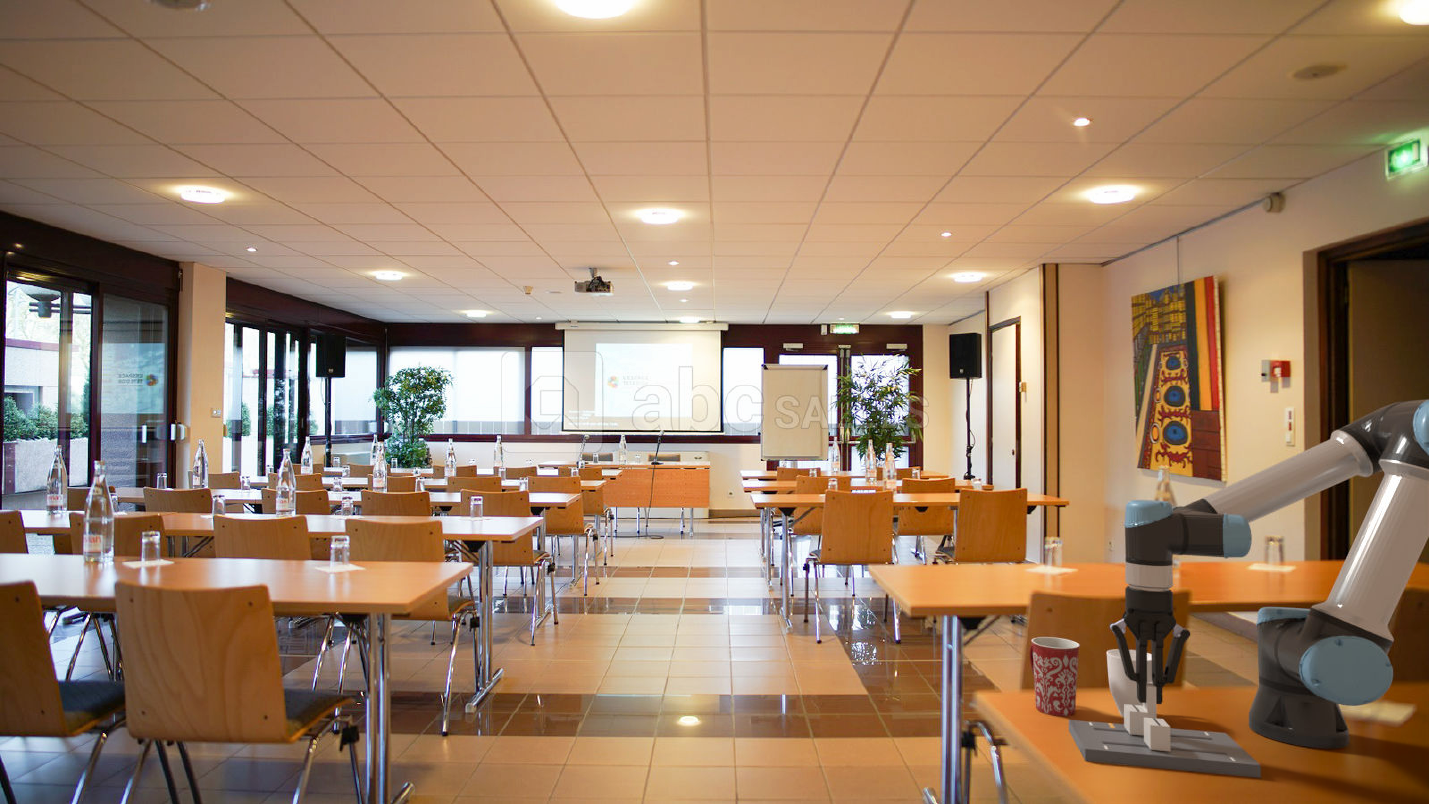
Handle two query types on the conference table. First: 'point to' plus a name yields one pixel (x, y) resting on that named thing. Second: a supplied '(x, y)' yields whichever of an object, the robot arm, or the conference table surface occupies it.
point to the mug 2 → (1124, 679)
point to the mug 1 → (1055, 674)
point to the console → (1185, 751)
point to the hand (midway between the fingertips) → (1149, 721)
